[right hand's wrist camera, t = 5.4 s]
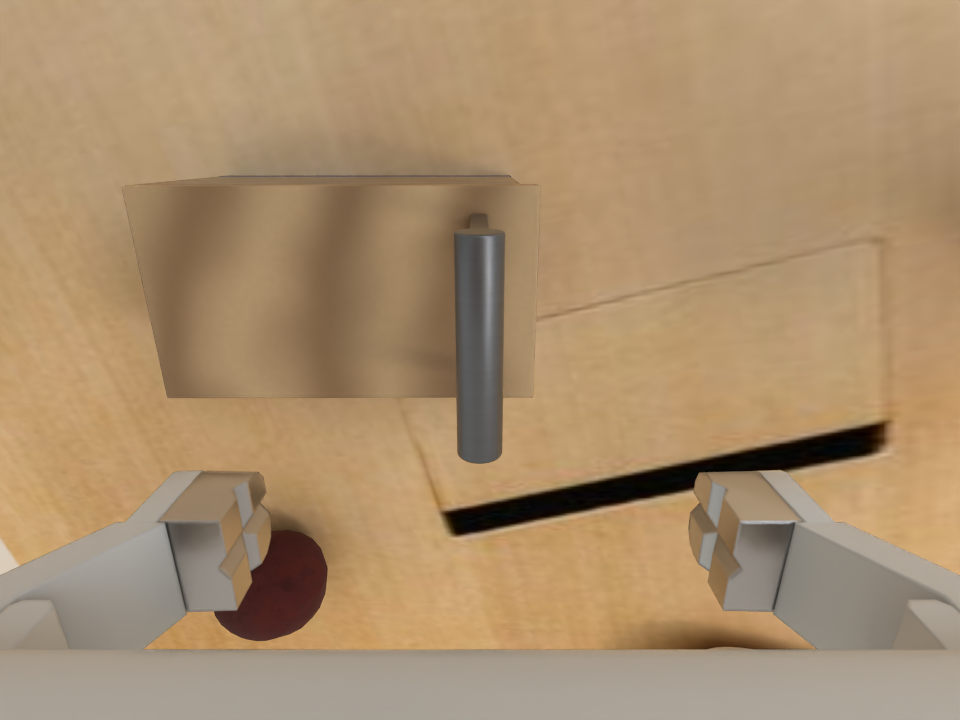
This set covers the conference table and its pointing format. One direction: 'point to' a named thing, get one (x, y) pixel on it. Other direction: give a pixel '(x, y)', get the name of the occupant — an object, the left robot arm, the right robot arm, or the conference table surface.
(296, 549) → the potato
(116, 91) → the conference table surface
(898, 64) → the conference table surface
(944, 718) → the right robot arm
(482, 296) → the lid
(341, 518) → the conference table surface
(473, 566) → the conference table surface
